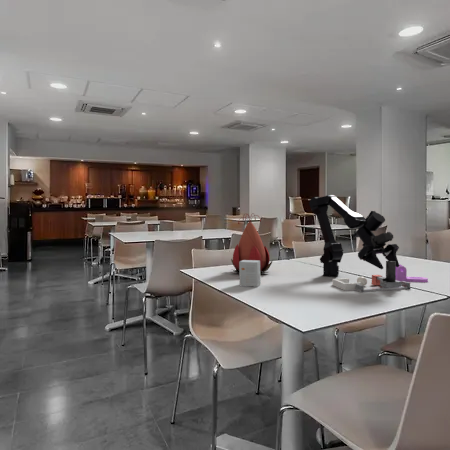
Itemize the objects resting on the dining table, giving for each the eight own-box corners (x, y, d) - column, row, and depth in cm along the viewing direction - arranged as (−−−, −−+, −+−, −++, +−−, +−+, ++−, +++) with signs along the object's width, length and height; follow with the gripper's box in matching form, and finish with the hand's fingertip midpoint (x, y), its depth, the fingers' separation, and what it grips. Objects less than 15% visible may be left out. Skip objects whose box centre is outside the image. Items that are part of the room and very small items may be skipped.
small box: (260, 284, 161) (260, 260, 161) (257, 287, 156) (257, 262, 155) (242, 283, 164) (242, 259, 163) (239, 286, 158) (238, 261, 158)
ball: (356, 286, 155) (356, 277, 155) (357, 284, 159) (357, 275, 159) (366, 287, 154) (366, 277, 153) (367, 285, 157) (367, 276, 157)
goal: (347, 284, 160) (347, 278, 160) (361, 289, 150) (361, 283, 150) (332, 285, 159) (332, 279, 159) (344, 290, 149) (344, 284, 149)
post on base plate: (384, 283, 160) (384, 258, 159) (401, 288, 149) (401, 261, 149) (369, 284, 158) (369, 258, 158) (385, 289, 148) (385, 262, 147)
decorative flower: (239, 268, 204) (238, 212, 202) (279, 270, 194) (279, 212, 192) (221, 275, 184) (220, 214, 183) (265, 278, 174) (265, 214, 173)
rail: (404, 286, 154) (404, 281, 154) (410, 288, 150) (410, 282, 150) (355, 290, 149) (355, 284, 149) (360, 292, 146) (360, 285, 146)
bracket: (397, 281, 165) (397, 265, 165) (394, 279, 170) (394, 264, 170) (429, 282, 162) (429, 266, 162) (425, 280, 168) (425, 264, 167)
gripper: (363, 226, 150) (386, 256, 141) (395, 224, 158) (419, 253, 149) (348, 244, 157) (369, 274, 148) (379, 242, 166) (401, 270, 156)
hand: (390, 267), depth 150 cm, fingers open, 9 cm apart
